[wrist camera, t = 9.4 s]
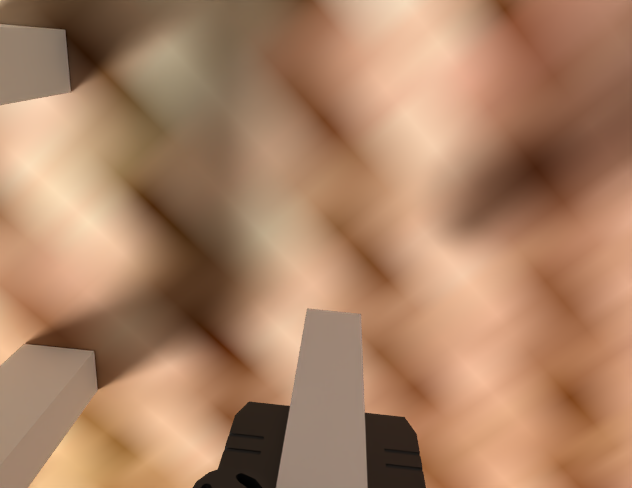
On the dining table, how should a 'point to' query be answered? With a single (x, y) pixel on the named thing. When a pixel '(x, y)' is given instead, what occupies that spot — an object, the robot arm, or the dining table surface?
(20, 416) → the bridge
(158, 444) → the dining table surface
